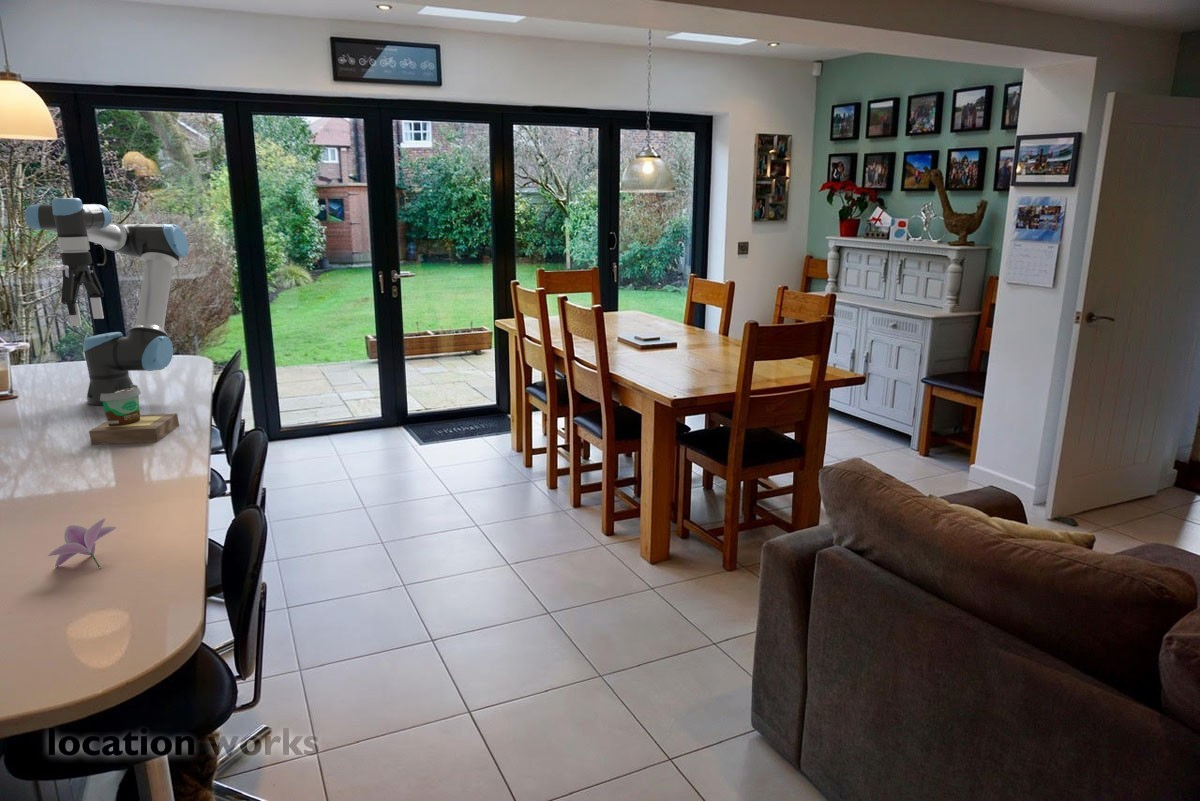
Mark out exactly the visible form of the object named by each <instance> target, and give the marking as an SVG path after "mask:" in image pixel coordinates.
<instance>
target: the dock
mask: <svg viewBox="0 0 1200 801" xmlns="http://www.w3.org/2000/svg"><path fill="white" fill-rule="evenodd" d="M178 416H179V414H178V413H150V414H148V413H147V414H140V421H138V422H136V423H132V424H128V425H122V426H109V424H108V420H107V419H106V420H105V421H103V422H102V423H100V424H98V425H97V426H95V427H94V428H91V429H90V430H89V431H88V434H89V438H90V444H91V445H103V444H102V443H114V444H129V443H128V442H138V443H155V442H157V441H158V442H159V441H161V440H162V439H163V438H165V437H166V436H167V435H169V434H170V433H172V432H173V431H174V430H176V429H177V428H178V427H179V426H180V422H179V417H178ZM176 427H177V428H176ZM175 428H176V429H175ZM160 439H161V440H160Z"/></svg>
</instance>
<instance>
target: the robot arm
mask: <svg viewBox="0 0 1200 801" xmlns="http://www.w3.org/2000/svg"><path fill="white" fill-rule="evenodd" d="M24 219H25V222H26V224H27V225H28V226H29V228H31V229H32V230H38V231H39V230H40V231H45V230H46V231H47V230H48V231H53V232H54V233H55V232H56V235H57V238H58V239H57V243H58V245H59V251H61V253H60V257H61V263H62V265H63V266H66V267H67V268H68V269H62V284H61V285H62V286H61V298H60V299H61V303H62V305H66V306H67V312H68V319H69V324H70V326H71V327H80V326H83V324H82V319H81V312H80V307H79V303H77V300H78V295H79V291H80V286H82V285H83V286H84V288H85V289H86V291H87V293H88V294H89V295H90V298H89V299H90V300H89V301H90V307H91V312H92V318H93V319H94V320H95V319H97V320H99V319H102V320H103V319H104V318H105V317H104V310H103V305H102V298H104V296H105V294H104V293H105V292H104V289H103V287H102V284H101V282H100V280H99V278H98V275H97V273H96V269H95V266H94V265H91V264H93V259H92V255H91V252H90V250H91V246H90V242H91V243H94V244H99V245H101V246H102V247H103V248H104V249H106V250H109V251H112V252H115V253H119V254H123V255H125V256H130V257H136V258H140V259H141V260H142V261H143V262H144V268H143V276H142V282H141V286H140V288H141V289H140V294H139V300H138V301H139V302H138V306H137V313H136V320H135V325H134V326H132V327H131V328H129V332H128V336H124V334H123V332H121V331H115V332H114V331H113V332H106V333H102V334H96V335H92V336H90V337H89V336H88V337H86V338H84V340H83V352H84V356H85V360H86V362H85V363H86V367H87V372H88V377H89V383H88V389H87V393H86V400H87V404H88V405H91V406H103V402H102V401H100V396H101V394H110V393H113V392H115V391H117V390H124V389H127V388H130V387H131V385H130V384H132V385H135V384H134V382H133V381H132V379H131V377H130V373H129V371H131V372H133V371H135V372H138V371H139V372H140V371H142V372H143V371H145V372H146V371H147V372H153V371H162V370H164V369H166V367H168V366H169V365H170V363H171V362H172V359H173V356H174V347H173V342H172V340H171V339H170V338H169V337H168V333H167V332H166V330H165V325H166V324H165V323H166V317H167V310H168V309H167V308H168V304H169V303H168V302H169V295H170V291H171V290H170V288H171V283H172V277H173V269H174V268H175V267H178V265H179V262H180V258H181V259H182V258H184V257H186V256H187V255H188V251H189V244H188V239H187V237H186V234H185V233H184V230H183V229H182V228H181V227H180V226H179V225H177V224H174V223H171V224H170V223H168V224H167V223H166V222H165V223H158V224H157V223H153V224H152V223H145V224H144V223H140V224H139V223H132V224H131V223H130V224H129V223H128V224H124V223H123V224H121V223H116V222H112V215H111V212H110V210H109V209H108V208H107V207H106V206H104V205H102V204H97V203H90V204H89V203H86V204H84V203H83V201H82V199H80V198H78V197H65V198H64V197H58V198H53V199H52V201H51V204H42V203H39V204H30V205H28V206H27V207H26V209H25V212H24Z"/></svg>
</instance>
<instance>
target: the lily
mask: <svg viewBox="0 0 1200 801" xmlns="http://www.w3.org/2000/svg"><path fill="white" fill-rule="evenodd" d="M105 520H106V518H102V519H100V520H99V521H97V522H96V523H94V524H93V525H91V526H89V528H86V527H84V526H81V525H73V524H72V525H69V526H67V527H66V528H65V531H64V536H63V538H64V539H63V540H64V542H65V543H64V544H62V545H61V546H59V547H58V548H55V549H54V550H52V551H50V553H49V554H48V555H47V557H51V556H52V557H53V556H58V555H59V556H58V558H57V559H56V561H55V566H54V567H56V566H59V565H60V566H61V565H63V564H64V563H65V562H67V561H68V560H69V559H71V558H73V557H74V556H76V555H78V554H80V555H85V556H90V557H92V559H93V561H94V562H95V564H96V565H97V567H98V568H99V567H101V566H100V564H99V562H98V561H97V559H96V558H95V556H94V555H95V551H96V542H97V541H99V540H100V539H101V538H103V537H104V536H106V535H108V534H110V533H112V532H113V531H114V530H116V529H117V527H116V526H104V527H103V525H104V523H105ZM93 554H94V555H93ZM60 566H59V567H60ZM56 568H57V567H56Z"/></svg>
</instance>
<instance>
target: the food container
mask: <svg viewBox="0 0 1200 801" xmlns="http://www.w3.org/2000/svg"><path fill="white" fill-rule="evenodd" d="M130 385H131V387H130V388H127V389H124V390H117V391H115V392H113V393H110V394H101V396H100V401H102V402H103V405H102V406H103V409H104V412H105V417H106V421H107V420H108V424H109V426H122V425H128V424H132V423H136V422H138V421H140V415H141V413H140V411H141V410H140V397H139V396H140V395H142V392H141V389H140V387H139V386H138V385H136V384H134V385H132V384H130Z"/></svg>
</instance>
